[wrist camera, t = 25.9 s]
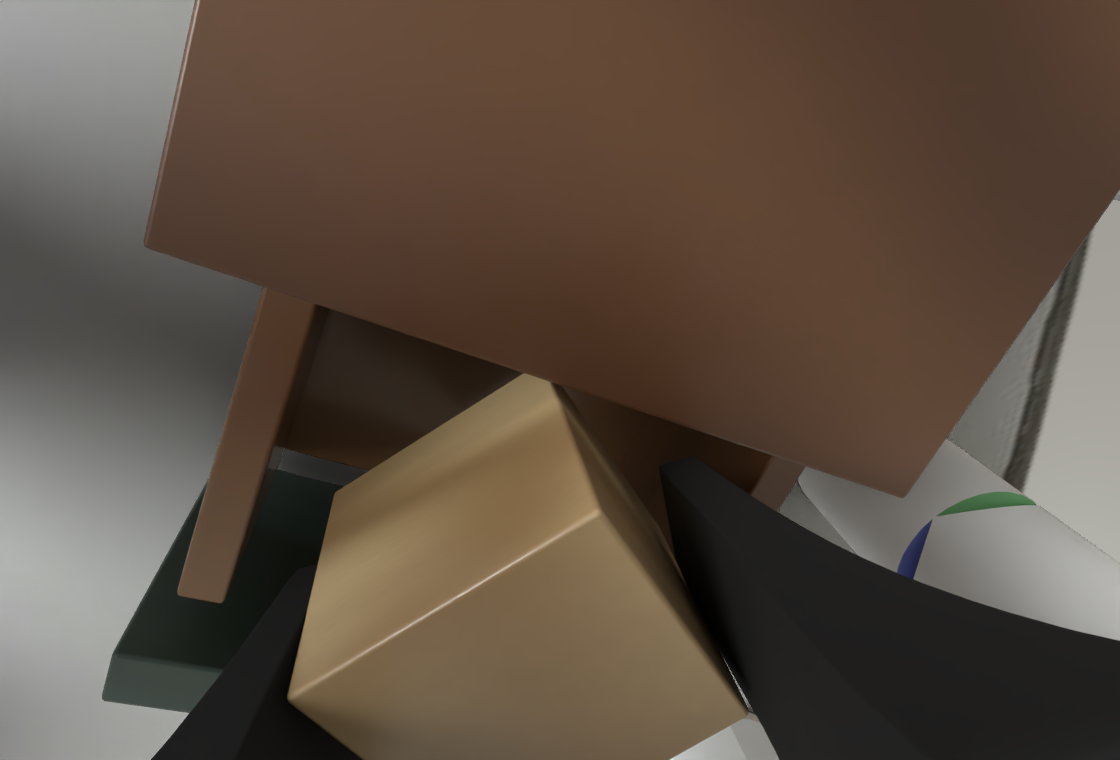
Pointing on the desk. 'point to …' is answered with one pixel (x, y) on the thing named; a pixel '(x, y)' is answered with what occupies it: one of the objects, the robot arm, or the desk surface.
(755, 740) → the mug
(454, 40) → the cabinet
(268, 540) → the drawer
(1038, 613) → the tube
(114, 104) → the desk surface
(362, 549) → the block
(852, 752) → the robot arm
